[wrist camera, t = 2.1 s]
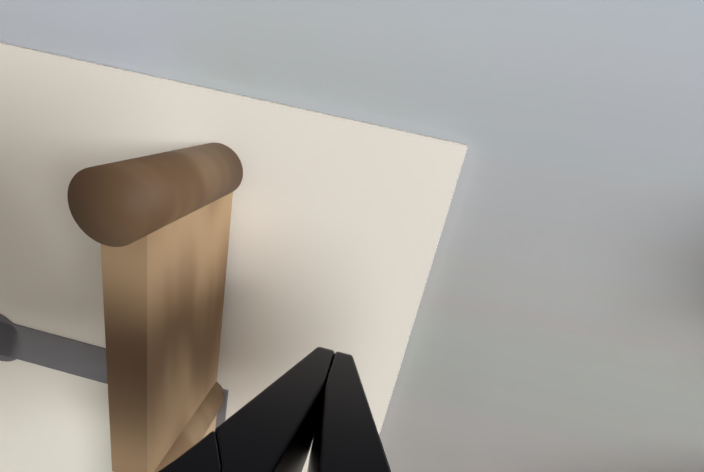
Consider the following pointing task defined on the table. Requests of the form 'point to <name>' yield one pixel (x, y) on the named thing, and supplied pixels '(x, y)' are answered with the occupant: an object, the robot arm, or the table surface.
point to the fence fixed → (196, 425)
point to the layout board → (243, 250)
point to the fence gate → (159, 287)
